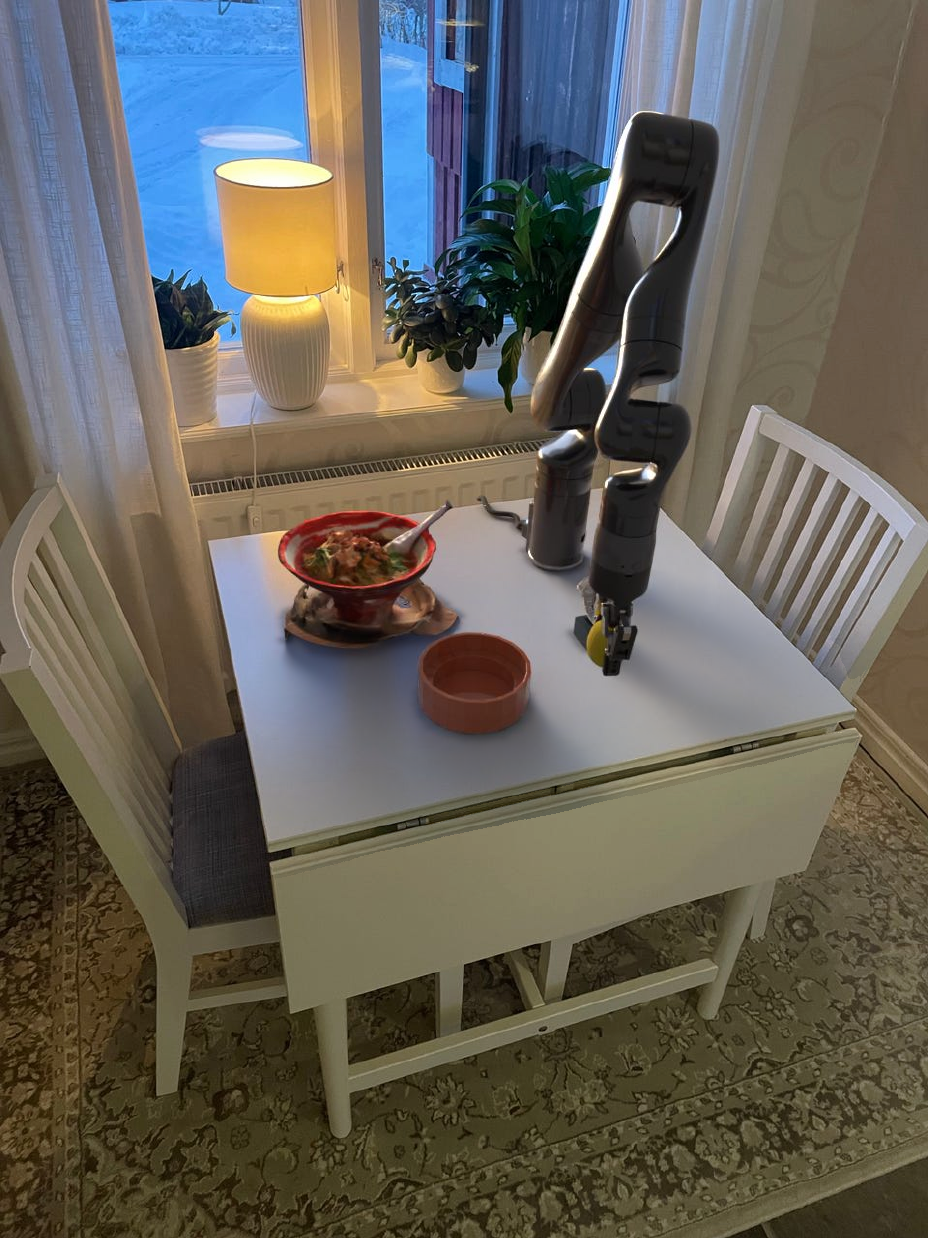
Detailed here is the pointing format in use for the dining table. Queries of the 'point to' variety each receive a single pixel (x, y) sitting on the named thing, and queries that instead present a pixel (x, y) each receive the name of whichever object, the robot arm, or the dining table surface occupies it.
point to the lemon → (597, 643)
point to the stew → (362, 578)
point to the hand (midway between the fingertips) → (605, 659)
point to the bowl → (473, 682)
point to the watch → (586, 621)
